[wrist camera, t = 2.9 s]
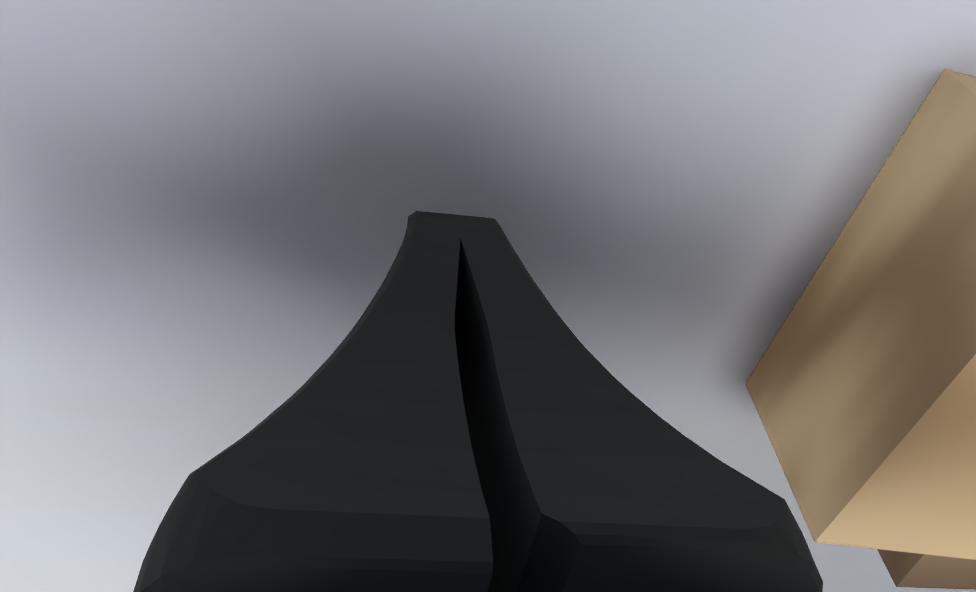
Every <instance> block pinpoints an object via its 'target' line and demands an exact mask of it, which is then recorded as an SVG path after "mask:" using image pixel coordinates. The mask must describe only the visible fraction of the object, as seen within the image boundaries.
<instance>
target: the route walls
mask: <svg viewBox="0 0 976 592" xmlns="http://www.w3.org/2000/svg"><path fill="white" fill-rule="evenodd" d="M877 550H878V552H879V554H880V556H881V558H882V560H883V562H884V563H885V565H886V567H887V569H888V571H889V573H890V575H891V577H892V579H893V581H894V583H895V585H896V587H917V588H948V589H976V560H974V559H964V558H955V557H946V556H937V555H928V554H918V553H909V552H900V551H891V550H882V549H877Z"/></svg>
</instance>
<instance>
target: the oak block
mask: <svg viewBox="0 0 976 592" xmlns="http://www.w3.org/2000/svg"><path fill="white" fill-rule="evenodd" d="M745 384H746V386H747V389H748V391H749V393H750V395H751V398H752V400H753V402H754V405H755V407H756V409H757V411H758V414H759V416H760V418H761V421H762V423H763V425H764V427H765V430H766V432H767V434H768V437H769V439H770V441H771V443H772V446H773V448H774V450H775V453H776V455H777V457H778V459H779V462H780V464H781V466H782V469H783V471H784V473H785V476H786V478H787V480H788V482H789V485H790V487H791V489H792V492H793V494H794V496H795V498H796V501H797V503H798V505H799V508H800V510H801V512H802V514H803V517H804V519H805V521H806V524H807V526H808V528H809V530H810V533H811V535H812V537H813V540H814V542H817V543H826V544H835V545H845V546H854V547H863V548H872V549H882V550H891V551H900V552H909V553H918V554H928V555H937V556H946V557H955V558H964V559H974V560H976V77H973V76H969V75H966V74H962V73H958V72H954V71H950V70H946V69H944V70H943V72H942V74H941V75H940V77H939V78H938V80H937V81H936V83H935V85H934V86H933V88H932V89H931V91H930V93H929V94H928V96H927V97H926V99H925V100H924V102H923V104H922V105H921V107H920V108H919V110H918V112H917V113H916V115H915V116H914V118H913V119H912V121H911V123H910V124H909V126H908V127H907V129H906V130H905V132H904V134H903V135H902V137H901V138H900V140H899V142H898V143H897V145H896V146H895V148H894V149H893V151H892V153H891V154H890V156H889V157H888V159H887V160H886V162H885V164H884V165H883V167H882V168H881V170H880V172H879V173H878V175H877V176H876V178H875V179H874V181H873V183H872V184H871V186H870V187H869V189H868V191H867V192H866V194H865V195H864V197H863V198H862V200H861V202H860V203H859V205H858V206H857V208H856V209H855V211H854V213H853V214H852V216H851V217H850V219H849V221H848V222H847V224H846V225H845V227H844V228H843V230H842V232H841V233H840V235H839V236H838V238H837V240H836V241H835V243H834V244H833V246H832V247H831V249H830V251H829V252H828V254H827V255H826V257H825V258H824V260H823V262H822V263H821V265H820V266H819V268H818V270H817V271H816V273H815V274H814V276H813V277H812V279H811V281H810V282H809V284H808V285H807V287H806V288H805V290H804V292H803V293H802V295H801V296H800V298H799V300H798V301H797V303H796V304H795V306H794V307H793V309H792V311H791V312H790V314H789V315H788V317H787V319H786V320H785V322H784V323H783V325H782V326H781V328H780V330H779V331H778V333H777V334H776V336H775V337H774V339H773V341H772V342H771V344H770V345H769V347H768V349H767V350H766V352H765V353H764V355H763V356H762V358H761V360H760V361H759V363H758V364H757V366H756V367H755V369H754V371H753V372H752V374H751V375H750V377H749V379H748V380H747V382H746V383H745Z"/></svg>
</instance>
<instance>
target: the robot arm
mask: <svg viewBox="0 0 976 592" xmlns="http://www.w3.org/2000/svg"><path fill="white" fill-rule="evenodd" d="M822 589H823V581H822V579H821V576H820V574H819V572H818V569H817V567H816V565H815V562H814V560H813V558H812V555H811V553H810V550H809V548H808V545H807V543H806V541H805V538H804V536H803V534H802V531H801V530H800V528H799V526H798V524H797V522H796V520H795V518H794V516H793V515H792V513H791V511H790V509H789V507H788V505H787V503H786V501H785V499H783V498H781V497H780V496H778V495H776V494H775V493H773V492H771V491H770V490H768V489H766V488H765V487H763V486H761V485H760V484H758V483H756V482H755V481H753V480H751V479H750V478H748V477H746V476H745V475H743V474H741V473H740V472H738V471H736V470H735V469H733V468H731V467H730V466H728V465H726V464H725V463H723V462H721V461H720V460H718V459H717V458H715V457H714V456H712V455H711V454H710V453H708V452H707V451H705V450H704V449H703V448H701V447H700V446H698V445H697V444H695V443H694V442H693V441H691V440H690V439H688V438H687V437H685V436H684V435H683V434H681V433H680V432H679V431H677V430H676V429H675V428H673V427H672V426H671V425H669V424H668V423H667V422H666V421H664V420H663V419H662V418H660V417H659V416H658V415H657V414H656V413H654V412H653V411H652V410H651V409H650V408H648V407H647V406H646V405H645V404H644V403H643V402H641V401H640V400H639V399H638V398H637V397H635V396H634V395H633V394H632V393H631V392H630V391H628V390H627V389H626V388H625V387H624V386H623V385H622V384H621V383H620V382H619V381H618V380H616V379H615V378H614V377H613V376H612V375H611V374H610V373H609V372H608V371H607V370H606V369H605V368H604V367H603V366H602V365H601V363H600V362H599V361H598V360H597V359H596V358H595V357H594V356H593V355H592V354H591V353H590V352H589V351H588V350H587V349H586V348H585V347H584V346H583V345H582V344H581V342H580V341H579V340H578V339H577V338H576V336H575V335H574V334H573V333H572V332H571V330H570V329H569V328H568V327H567V325H566V324H565V323H564V322H563V320H562V319H561V318H560V317H559V315H558V314H557V313H556V311H555V310H554V309H553V307H552V306H551V305H550V303H549V302H548V300H547V299H546V297H545V296H544V295H543V293H542V292H541V290H540V289H539V288H538V286H537V285H536V283H535V282H534V280H533V279H532V277H531V276H530V274H529V273H528V271H527V270H526V268H525V267H524V265H523V263H522V262H521V260H520V259H519V257H518V256H517V254H516V252H515V251H514V249H513V247H512V246H511V244H510V242H509V240H508V239H507V237H506V235H505V233H504V232H503V230H502V228H501V226H500V225H499V224H498V222H497V221H496V220H495V219H493V218H482V217H472V216H462V215H452V214H442V213H431V212H421V211H416V212H414V213H413V214H412V215H410V216H409V217H408V225H407V230H406V234H405V237H404V240H403V243H402V245H401V247H400V250H399V252H398V254H397V257H396V259H395V261H394V263H393V265H392V266H391V268H390V270H389V272H388V274H387V276H386V278H385V280H384V282H383V284H382V285H381V287H380V289H379V290H378V292H377V293H376V295H375V296H374V298H373V300H372V301H371V303H370V304H369V306H368V307H367V309H366V310H365V312H364V313H363V315H362V316H361V318H360V319H359V321H358V322H357V323H356V325H355V326H354V327H353V329H352V330H351V331H350V333H349V334H348V335H347V337H346V338H345V339H344V340H343V342H342V343H341V344H340V345H339V346H338V348H337V349H336V350H335V351H334V352H333V354H332V355H331V356H330V357H329V358H328V359H327V360H326V361H325V363H324V364H323V365H322V366H321V367H320V368H319V369H318V370H317V371H316V372H315V373H314V374H313V375H312V376H311V377H310V379H309V380H308V381H307V382H306V383H305V384H304V385H303V386H302V387H301V388H300V389H299V390H298V391H296V392H295V393H294V394H293V395H292V396H291V397H290V398H289V399H288V400H287V401H285V402H284V403H283V404H282V405H281V406H280V407H278V408H277V409H276V410H275V411H274V412H273V413H271V414H270V415H269V416H268V417H267V418H266V419H264V420H263V421H262V422H261V423H260V424H259V425H257V426H256V427H255V428H254V429H253V430H251V431H250V432H249V433H247V434H246V435H245V436H244V437H242V438H241V439H240V440H238V441H237V442H235V443H234V444H232V445H231V446H230V447H228V448H227V449H225V450H224V451H222V452H221V453H220V454H218V455H217V456H215V457H214V458H212V459H211V460H210V461H208V462H207V463H205V464H204V465H202V466H201V467H200V468H198V469H197V470H195V471H194V472H192V473H191V474H190V475H189V476H188V478H187V479H186V481H185V482H184V484H183V486H182V487H181V489H180V490H179V492H178V494H177V495H176V497H175V499H174V500H173V502H172V504H171V505H170V507H169V509H168V511H167V513H166V514H165V516H164V518H163V520H162V522H161V524H160V525H159V527H158V529H157V532H156V534H155V536H154V538H153V540H152V542H151V544H150V547H149V549H148V551H147V553H146V556H145V558H144V560H143V563H142V566H141V569H140V572H139V576H138V579H137V582H136V585H135V588H134V592H822Z"/></svg>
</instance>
